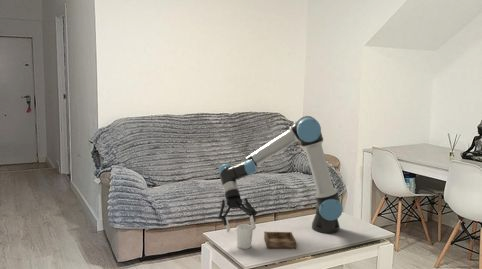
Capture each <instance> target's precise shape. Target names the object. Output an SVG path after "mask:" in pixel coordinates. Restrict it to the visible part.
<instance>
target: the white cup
mask: <svg viewBox="0 0 482 269" xmlns="http://www.w3.org/2000/svg"><path fill="white" fill-rule="evenodd" d="M253 232H254V230H253V226H252V225H251V224H248V223H240V224H237V225H236V242H237V243H236V245H237V246H236V247H238V248H239V249H242V250H246V249H249V248H251V247H252V242H253Z"/></svg>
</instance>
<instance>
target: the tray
mask: <svg viewBox="0 0 482 269" xmlns="http://www.w3.org/2000/svg"><path fill="white" fill-rule="evenodd" d="M263 234H264V235H263V236H264V237H263V240H264V243H265V246H266V249H267V250H296V249H297V240H296V239H295V237H294V235H293V233H292V231H264V233H263Z"/></svg>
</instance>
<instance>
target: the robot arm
mask: <svg viewBox="0 0 482 269" xmlns="http://www.w3.org/2000/svg"><path fill="white" fill-rule="evenodd" d="M321 129H322V127H321V124H320V123H319V121H318V120H317V119H316V118H315V117H313V116H309V115H305V116H302V117H301V118H299V119H298V120H297V121H295V123H293V124H291V125H290V126H289V129H288V130H285V131H283V133H281V134H280V135H278V136H276V137H275V138H273V139H272V140H270V141H268V142H267V143H266V144H264V145H262V146H261V147H259V148H258V149H257V150H255V151H253V152H252V153H250V154H249V155H247V156H245V157H243V158H241V159H240V162H239V163H238V164H235V165H231V164H230V163H226V164H225V163H224V164H222V165H221V166H220V167H219V168H218V173H219V178H220V181H221V184H222V185H221V186H222V188H223V193H224V197H225V200H224V199H222V200H221V202H220V210H219V213H218V218H217V219H218V220H221V222H222V224H223V226H224V227H225V229H226V233H230V231H231V227H230V224H229V220H228V217H227V216H228V214H229V212H230V210H231V209H232V210H240V211H243V213H245V214H247V215H248V216H249V220H250V225H252V226H253V231H254V230H255V229H256V228H257V226H256V218H255V216H257V214H258V212H257V211H256V209H255V208H254V207H253V206H252V205H251V204H250V202H249V201H248V198H244V199H241V198H242V197H241V194H240V190H239V187H238V184H237V181H238V180H240V179H243V178H246V177H249V176H251V175H253V174H255V173H257V167H258V166H259V165H261V164H262V163H264V162H266V161H267V160H269V159H270V158H272V157H273V156H276V154H278V153H280V152H282V151H283V150H285V149H286V148H288V147H289V146H291V145H292V144H294V143H295V142H300V146H301V147H302V148H304V150H305V154H306V157H307V160H308V163H309V167H310V171H311V174H312V175H311V176H312V178H313V182H314V185H315V190H316V193H315V195H314V196H315V201H316V203H315V215H314V218H313V220H312V223H311V229H312V230H314V231H315V232H319V233H322V234H323V233H324V234H334V233H338V232H340V228H341V227H340V222H339V220H338V219H339V218H340V217H341V216H342V215H343V214H342V213H343V204H342V203H341V200H340V196H339V194H340V191H339V189H338V188H335V187H334V185H333V182H332V178H331V175H330V171H329V167H328V163H327V159H326V157H325V152H324V149H323V142H324V136H323V134H322V130H321ZM226 205H227V206H228V207H227V209H226V210H225V213H224V209H225V206H226ZM223 213H224V214H223Z"/></svg>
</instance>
